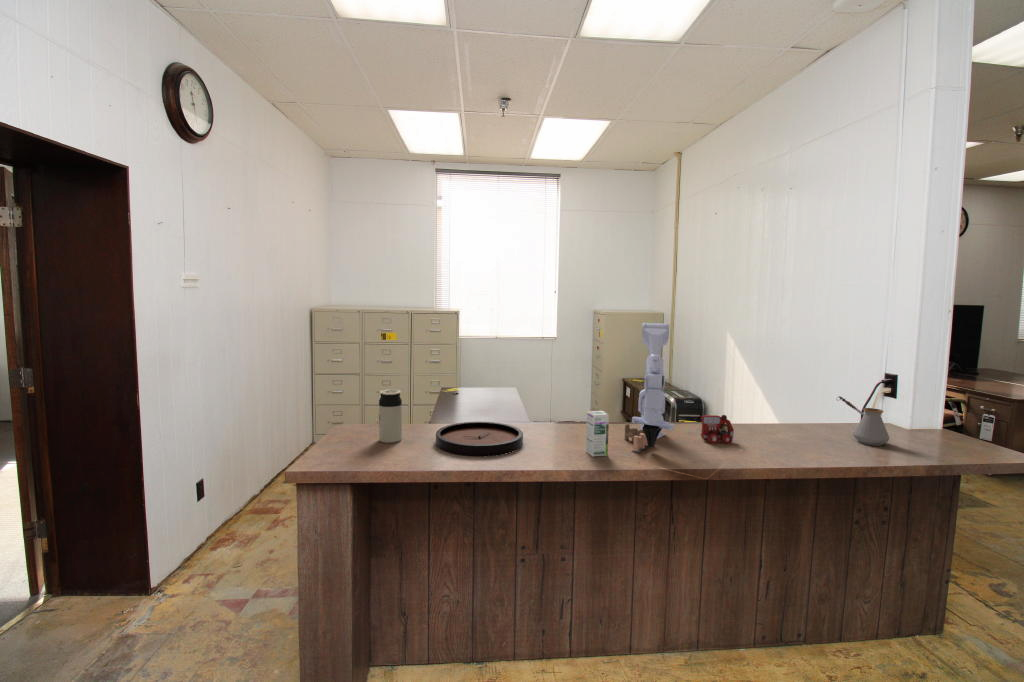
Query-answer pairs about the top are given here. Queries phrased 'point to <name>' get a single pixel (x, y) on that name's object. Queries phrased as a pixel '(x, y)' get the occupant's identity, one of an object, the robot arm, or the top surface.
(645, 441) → the folding fence panel
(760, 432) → the top surface
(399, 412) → the travel mug
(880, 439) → the coffee pot
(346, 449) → the top surface
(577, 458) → the top surface
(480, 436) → the wall clock
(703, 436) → the toy fire truck
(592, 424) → the syrup box
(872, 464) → the top surface
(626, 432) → the fixed fence section
